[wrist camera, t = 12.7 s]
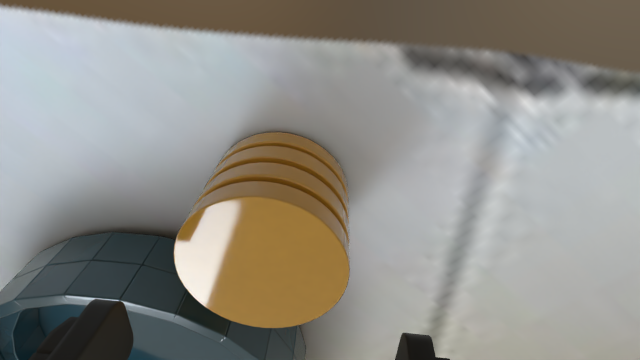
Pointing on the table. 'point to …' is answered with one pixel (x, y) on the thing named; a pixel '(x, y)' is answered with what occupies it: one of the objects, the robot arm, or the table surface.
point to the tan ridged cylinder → (268, 234)
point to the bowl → (129, 303)
